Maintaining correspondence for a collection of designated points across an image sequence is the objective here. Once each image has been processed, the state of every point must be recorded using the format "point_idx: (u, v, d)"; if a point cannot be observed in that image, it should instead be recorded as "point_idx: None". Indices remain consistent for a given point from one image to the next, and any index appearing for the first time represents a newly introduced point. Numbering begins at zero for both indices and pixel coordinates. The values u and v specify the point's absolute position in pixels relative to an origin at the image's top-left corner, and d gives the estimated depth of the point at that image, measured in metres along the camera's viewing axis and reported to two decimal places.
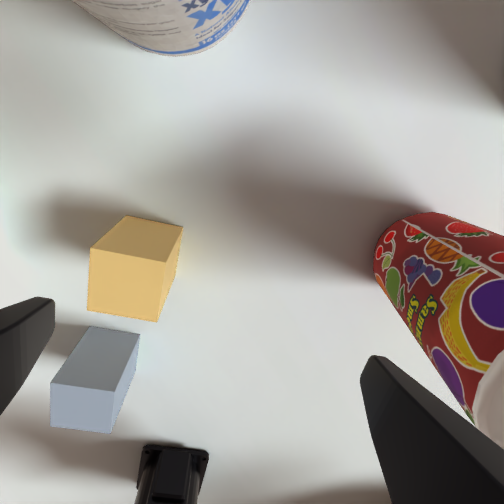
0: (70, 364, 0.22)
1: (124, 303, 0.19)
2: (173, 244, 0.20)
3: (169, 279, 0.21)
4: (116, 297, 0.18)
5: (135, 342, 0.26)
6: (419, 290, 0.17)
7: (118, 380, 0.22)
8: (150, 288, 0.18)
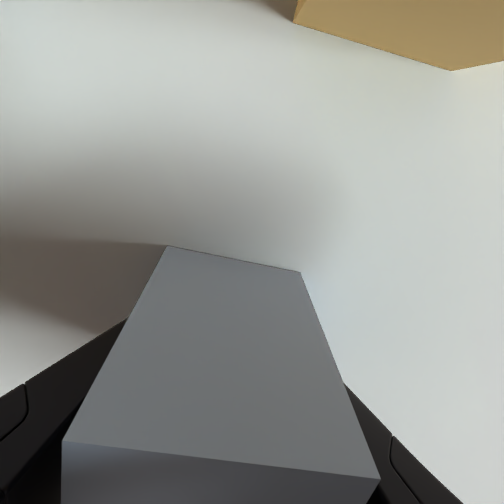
0: (141, 347, 0.05)
1: None
2: None
3: None
4: None
5: (303, 289, 0.09)
6: None
7: (351, 414, 0.05)
8: None
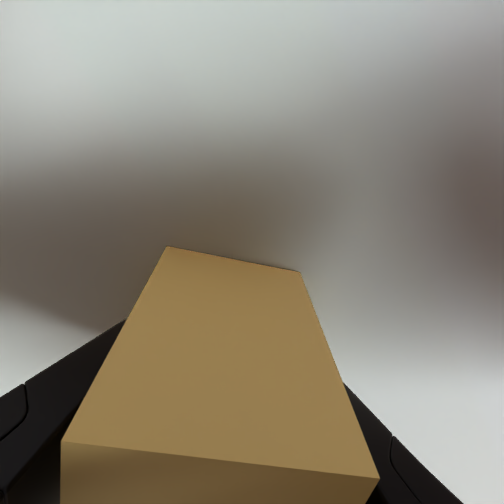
0: None
1: None
2: (324, 345, 0.07)
3: None
4: None
5: None
6: None
7: None
8: None
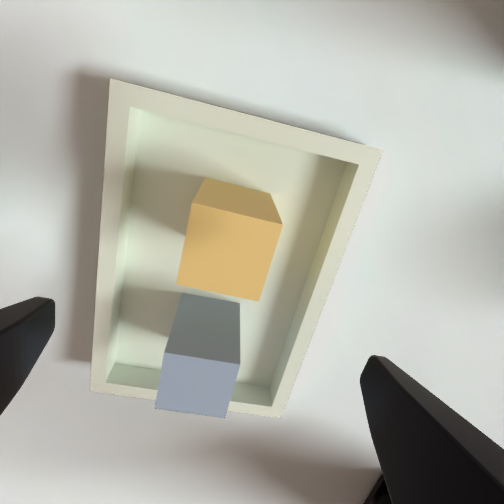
0: (178, 332, 0.18)
1: (223, 276, 0.15)
2: (275, 208, 0.16)
3: None
4: (214, 268, 0.15)
5: (238, 311, 0.22)
6: None
7: (238, 351, 0.18)
8: (257, 257, 0.15)
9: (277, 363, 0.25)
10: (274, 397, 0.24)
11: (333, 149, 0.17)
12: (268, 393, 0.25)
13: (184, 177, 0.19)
